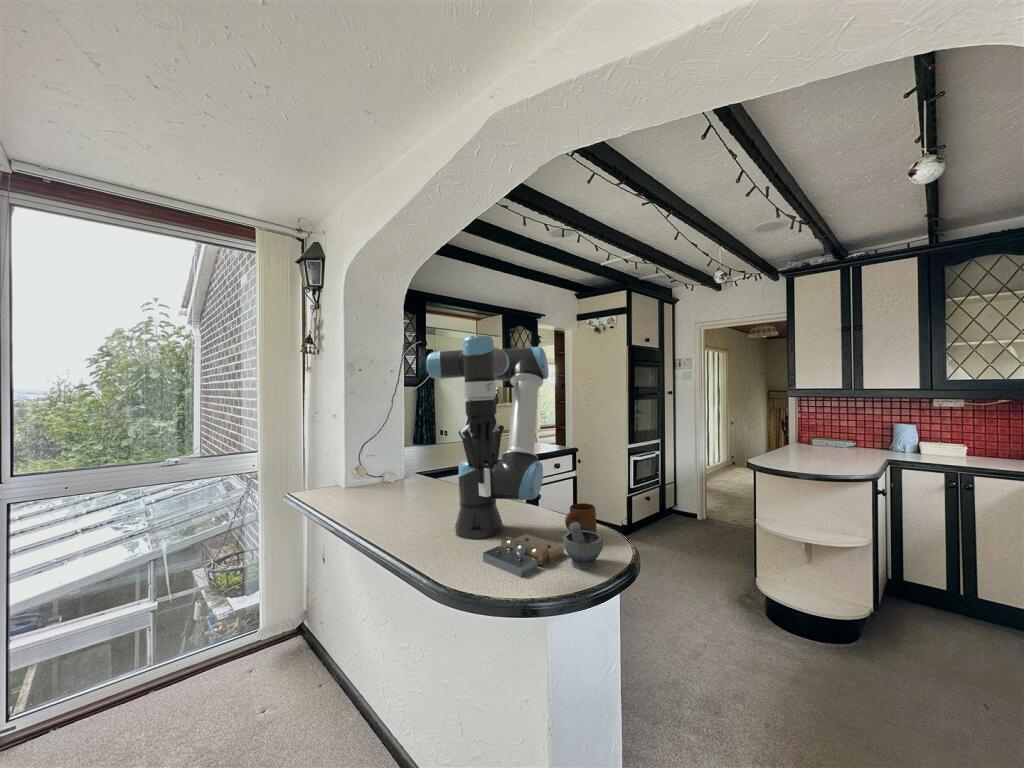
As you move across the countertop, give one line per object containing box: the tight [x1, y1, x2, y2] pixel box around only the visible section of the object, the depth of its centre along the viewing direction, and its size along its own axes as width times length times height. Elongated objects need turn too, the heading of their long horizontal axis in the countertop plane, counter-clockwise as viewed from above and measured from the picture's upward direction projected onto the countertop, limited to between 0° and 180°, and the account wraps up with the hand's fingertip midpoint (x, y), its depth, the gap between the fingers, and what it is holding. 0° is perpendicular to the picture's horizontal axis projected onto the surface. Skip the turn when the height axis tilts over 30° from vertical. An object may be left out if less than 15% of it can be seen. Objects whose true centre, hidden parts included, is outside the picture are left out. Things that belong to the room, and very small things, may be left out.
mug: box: [564, 502, 598, 533], centre depth 119 cm, size 12×8×9 cm, turn 136°
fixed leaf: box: [500, 534, 565, 566], centre depth 111 cm, size 14×10×4 cm
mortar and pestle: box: [562, 522, 604, 571], centre depth 103 cm, size 11×9×12 cm
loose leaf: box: [482, 542, 539, 578], centre depth 106 cm, size 14×10×4 cm
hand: (484, 495), depth 100 cm, fingers closed
